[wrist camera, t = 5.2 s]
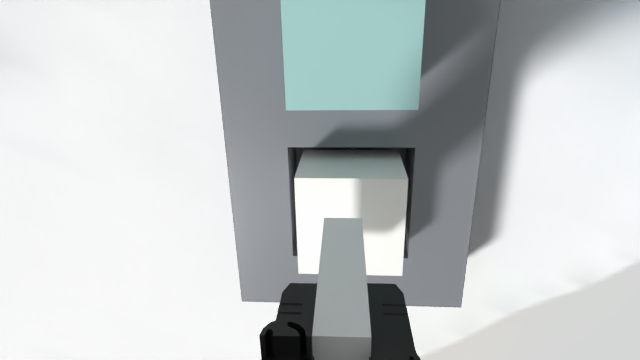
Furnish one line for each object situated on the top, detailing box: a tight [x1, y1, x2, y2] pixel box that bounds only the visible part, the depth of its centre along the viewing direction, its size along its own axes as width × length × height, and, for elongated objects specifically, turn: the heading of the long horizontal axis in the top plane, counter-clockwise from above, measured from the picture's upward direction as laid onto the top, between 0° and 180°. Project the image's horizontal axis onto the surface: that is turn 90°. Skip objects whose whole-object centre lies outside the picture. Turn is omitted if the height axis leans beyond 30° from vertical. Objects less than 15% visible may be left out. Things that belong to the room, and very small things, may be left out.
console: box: [210, 0, 500, 307], centre depth 20 cm, size 12×28×4 cm, turn 1°
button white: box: [294, 150, 408, 276], centre depth 20 cm, size 5×5×4 cm
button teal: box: [280, 0, 426, 110], centre depth 16 cm, size 5×5×4 cm
